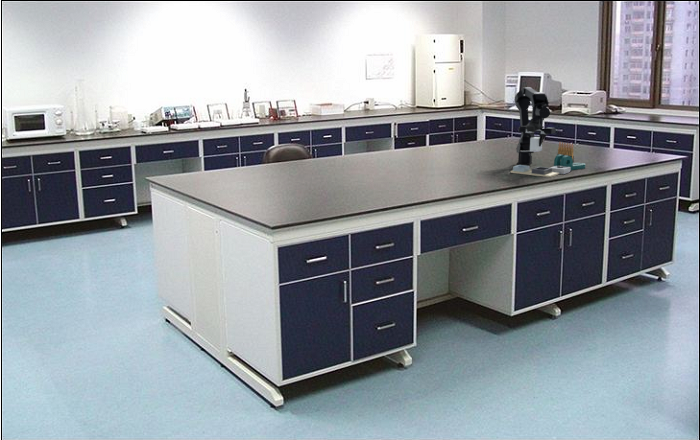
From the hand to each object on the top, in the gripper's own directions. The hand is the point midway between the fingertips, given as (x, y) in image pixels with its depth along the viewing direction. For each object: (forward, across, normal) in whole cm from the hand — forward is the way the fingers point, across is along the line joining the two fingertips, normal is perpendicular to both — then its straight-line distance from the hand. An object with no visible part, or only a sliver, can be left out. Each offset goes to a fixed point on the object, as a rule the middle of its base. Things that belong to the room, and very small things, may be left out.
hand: (536, 146), depth 382 cm
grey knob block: (+12, +15, -2) cm, 19 cm away
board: (+12, +6, -13) cm, 19 cm away
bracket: (+13, +15, +12) cm, 23 cm away
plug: (+3, 0, 0) cm, 3 cm away
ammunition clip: (+12, +6, +25) cm, 29 cm away
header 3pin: (+12, -2, -13) cm, 18 cm away
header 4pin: (+12, +10, -13) cm, 20 cm away
